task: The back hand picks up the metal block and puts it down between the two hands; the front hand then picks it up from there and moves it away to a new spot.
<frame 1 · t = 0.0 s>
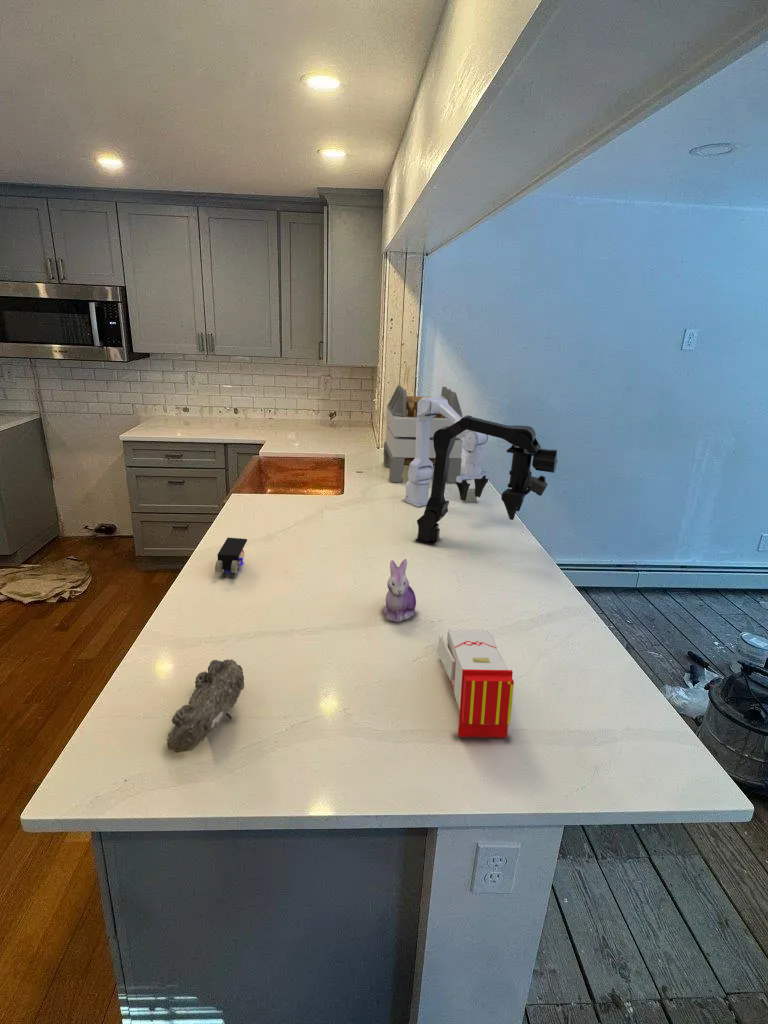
front hand: (514, 515, 180), 15 cm above the counter, tool pointing down, fingers open, 9 cm apart
back hand: (470, 498, 209), 10 cm above the counter, tool pointing down, fingers open, 7 cm apart
figurine: (399, 614, 147), on the counter
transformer: (419, 473, 275), on the counter
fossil: (212, 717, 108), on the counter
block: (469, 500, 238), on the counter
black wheeled box: (232, 569, 168), on the counter
toy: (469, 691, 119), on the counter
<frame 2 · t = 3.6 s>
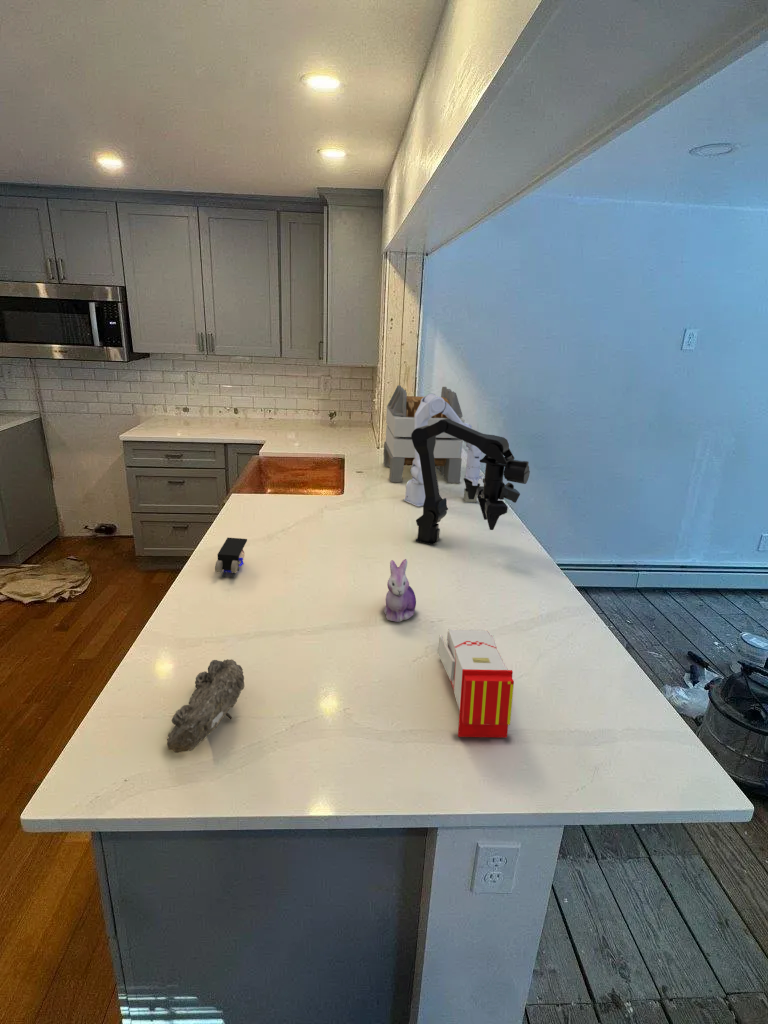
front hand: (488, 524, 182), 11 cm above the counter, tool pointing down, fingers open, 9 cm apart
back hand: (470, 497, 238), 2 cm above the counter, tool pointing down, fingers closed on block, 4 cm apart
block: (469, 500, 238), on the counter, touching back hand
everything else where it was.
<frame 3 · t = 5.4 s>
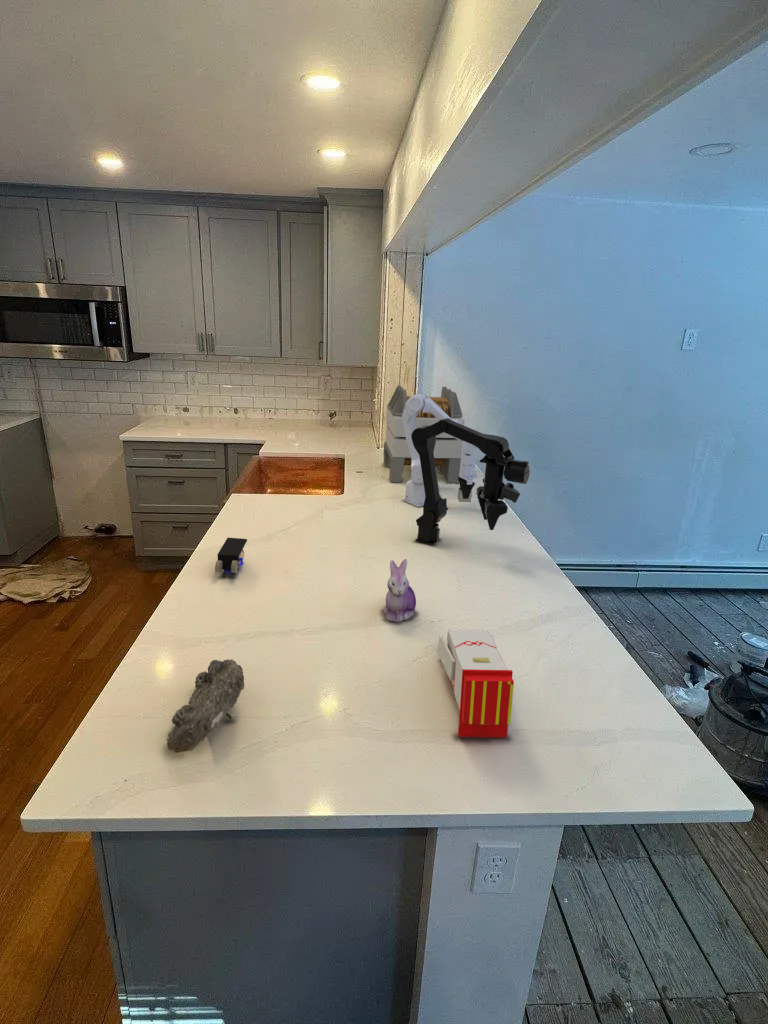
front hand: (488, 524, 182), 11 cm above the counter, tool pointing down, fingers open, 9 cm apart
back hand: (464, 496, 227), 5 cm above the counter, tool pointing down, fingers closed on block, 4 cm apart
block: (464, 500, 227), point 3 cm above the counter, touching back hand
everything else where it was.
when the back hand's fingers open (3 cm above the counter, at t = 7.5 s): block drops 1 cm, on the counter.
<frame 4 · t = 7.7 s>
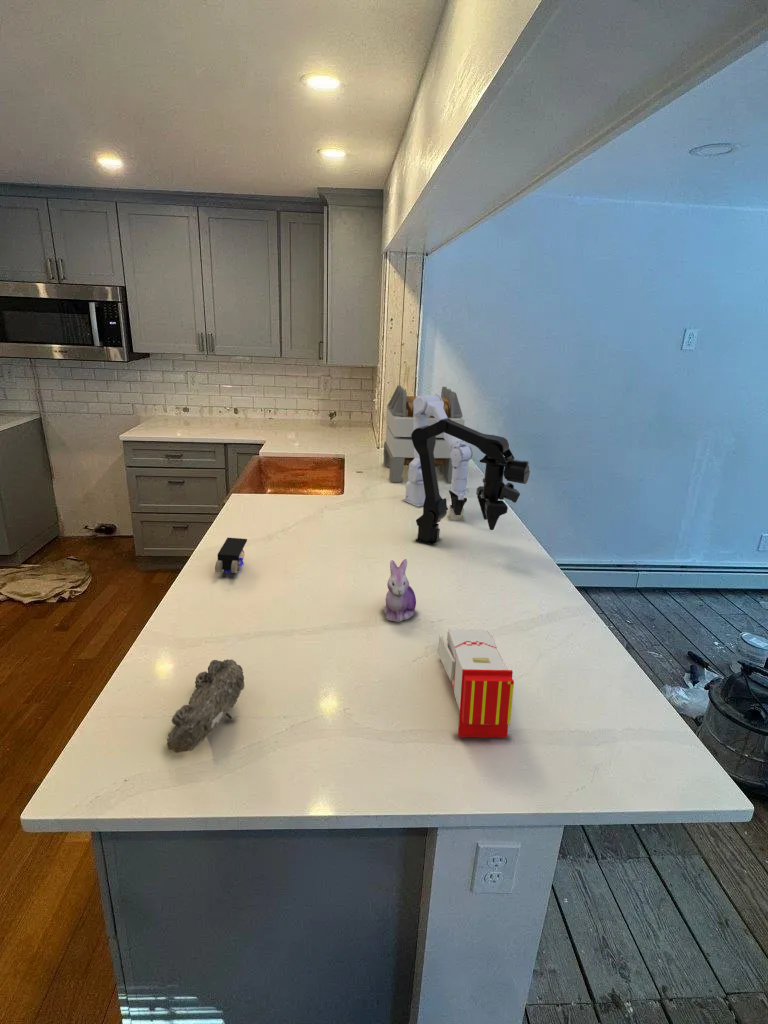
front hand: (488, 524, 182), 11 cm above the counter, tool pointing down, fingers open, 9 cm apart
back hand: (456, 511, 216), 3 cm above the counter, tool pointing down, fingers open, 6 cm apart
block: (455, 518, 217), on the counter
everything else where it was.
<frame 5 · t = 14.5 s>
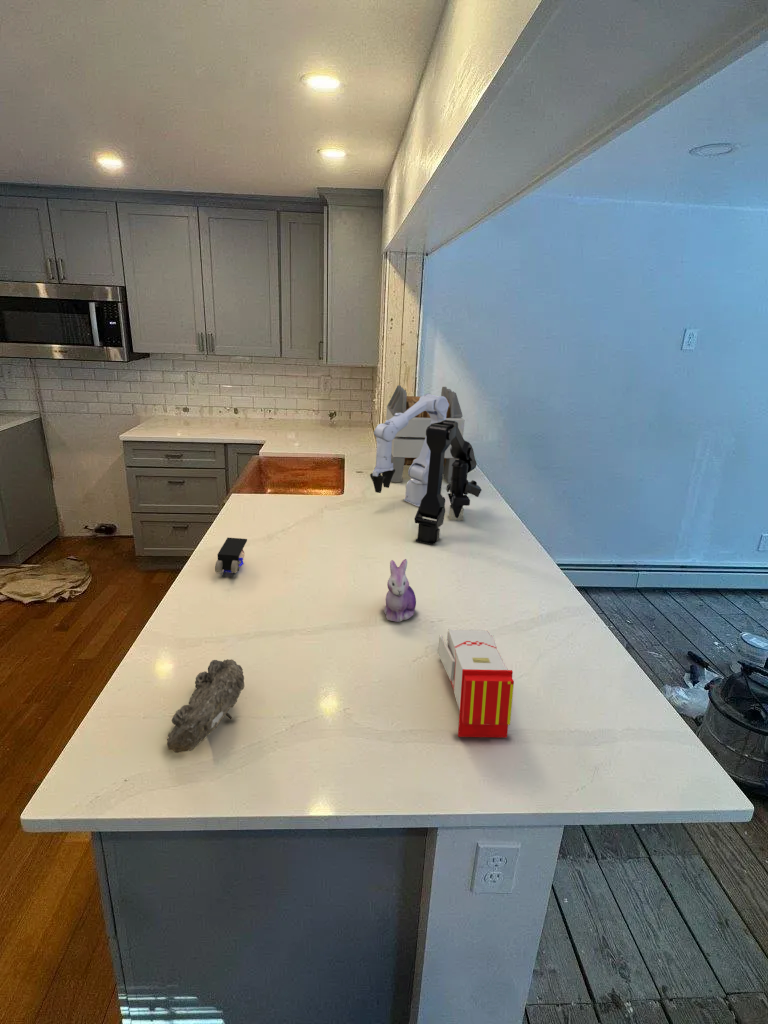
front hand: (455, 515, 217), 1 cm above the counter, tool pointing down, fingers closed on block, 4 cm apart
back hand: (382, 489, 220), 8 cm above the counter, tool pointing down, fingers open, 7 cm apart
block: (455, 518, 217), on the counter, touching front hand
everything else where it was.
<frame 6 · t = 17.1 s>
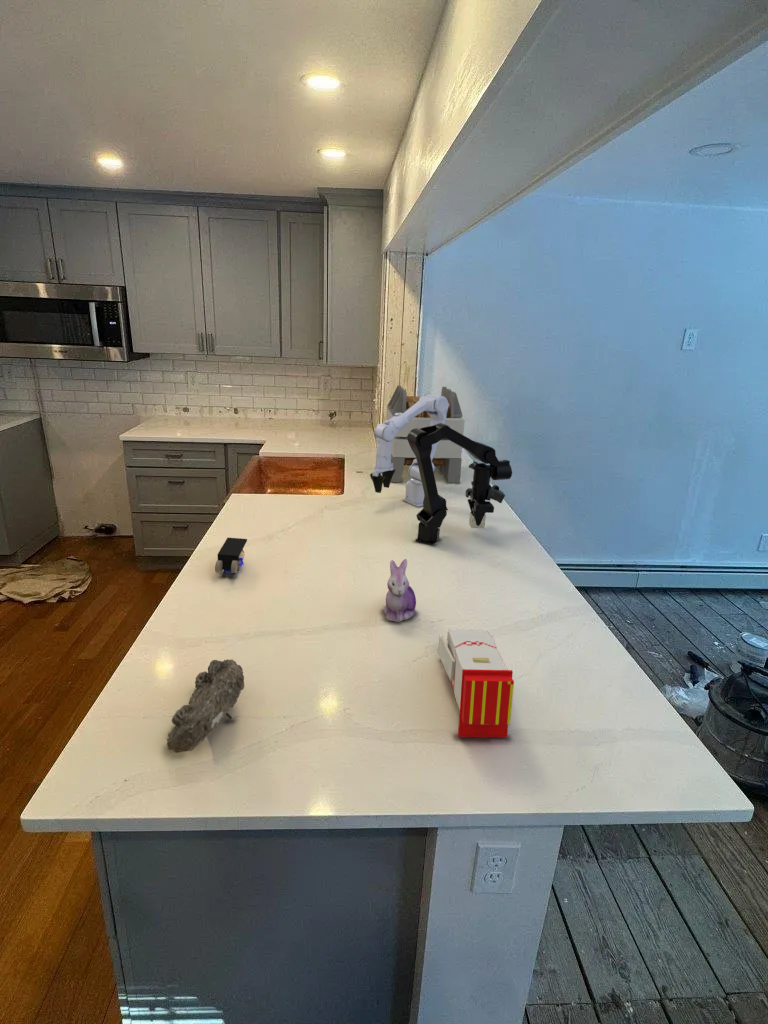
front hand: (476, 523, 200), 5 cm above the counter, tool pointing down, fingers closed on block, 4 cm apart
back hand: (382, 489, 220), 8 cm above the counter, tool pointing down, fingers open, 7 cm apart
block: (476, 526, 201), point 3 cm above the counter, touching front hand
everything else where it was.
when the front hand's fingers open (2 cm above the counter, at t = 20.0 s): block drops 1 cm, on the counter.
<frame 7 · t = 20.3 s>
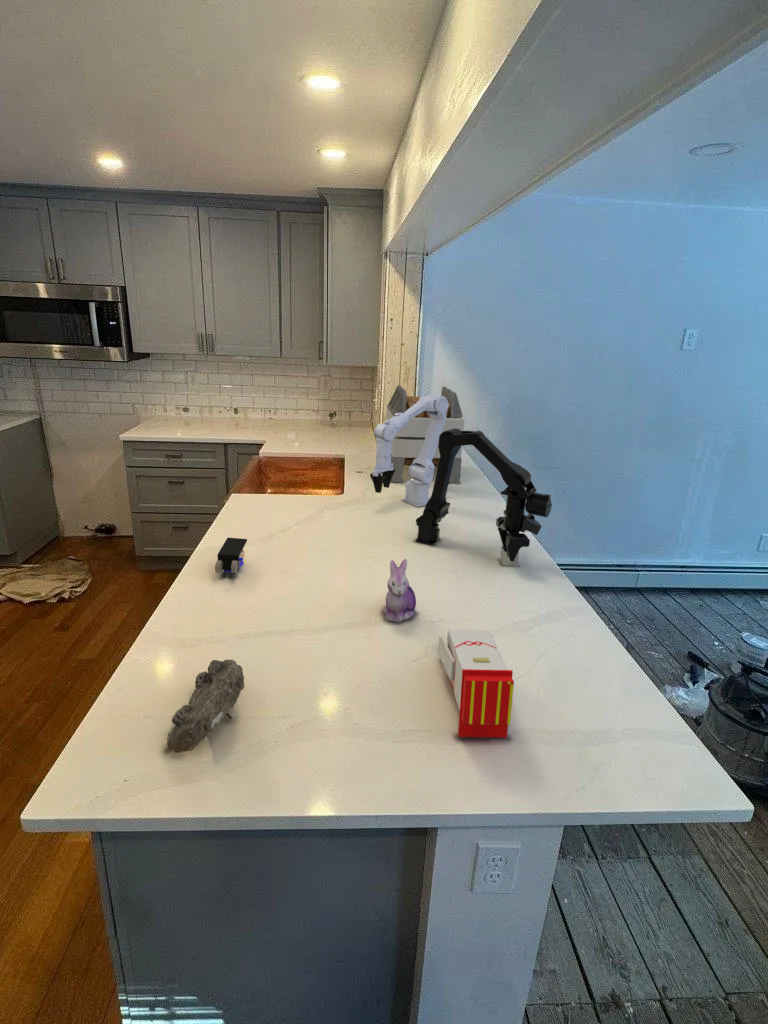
front hand: (509, 556, 180), 2 cm above the counter, tool pointing down, fingers open, 7 cm apart
back hand: (382, 489, 220), 8 cm above the counter, tool pointing down, fingers open, 7 cm apart
block: (508, 562, 181), on the counter
everything else where it was.
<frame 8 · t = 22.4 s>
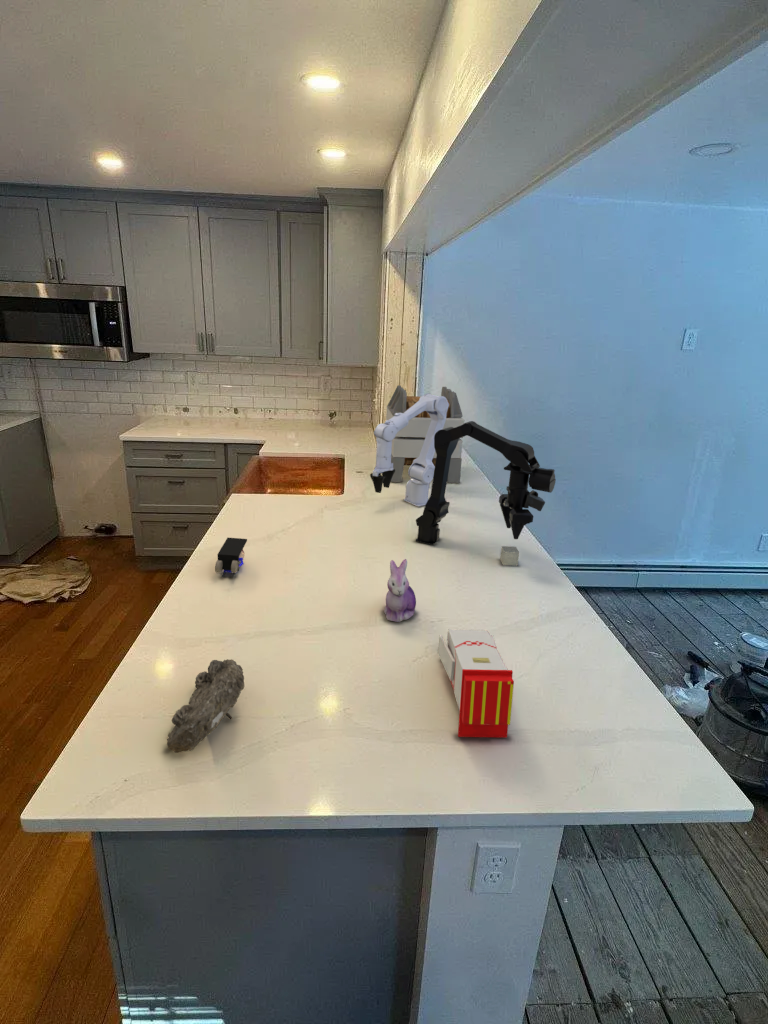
front hand: (512, 533, 177), 10 cm above the counter, tool pointing down, fingers open, 9 cm apart
back hand: (382, 489, 220), 8 cm above the counter, tool pointing down, fingers open, 7 cm apart
nothing on the counter moved.
at the end: block inside the target area (0.1 cm from its centre), on the counter; block tilted 0°; the two hands never held the block at the same time; the front hand is holding nothing; the back hand is holding nothing; block at rest at the end (0.0 cm/s) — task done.
